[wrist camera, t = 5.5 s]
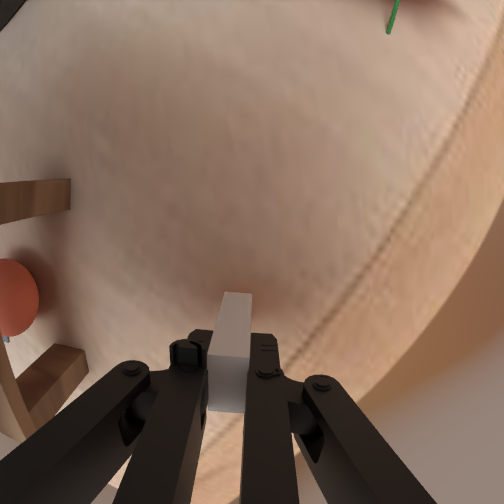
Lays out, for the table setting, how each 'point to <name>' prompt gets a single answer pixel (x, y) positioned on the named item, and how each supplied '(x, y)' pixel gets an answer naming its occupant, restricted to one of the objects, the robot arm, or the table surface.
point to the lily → (392, 16)
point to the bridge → (57, 356)
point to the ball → (16, 298)
